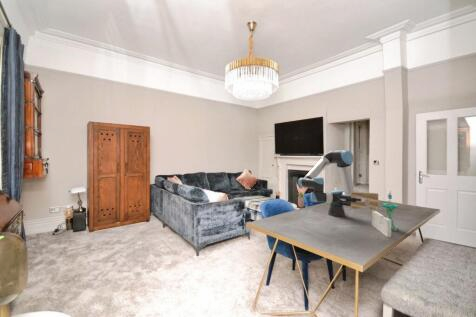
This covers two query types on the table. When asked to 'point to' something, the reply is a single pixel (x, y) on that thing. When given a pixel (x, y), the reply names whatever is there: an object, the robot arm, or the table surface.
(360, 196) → the tan faceted tapered block
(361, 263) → the table surface
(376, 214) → the cream slotted board
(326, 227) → the table surface
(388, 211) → the hanging basket ornament
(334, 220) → the table surface
